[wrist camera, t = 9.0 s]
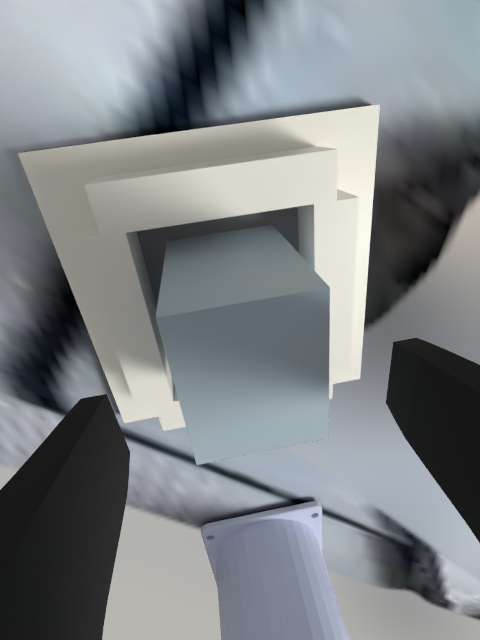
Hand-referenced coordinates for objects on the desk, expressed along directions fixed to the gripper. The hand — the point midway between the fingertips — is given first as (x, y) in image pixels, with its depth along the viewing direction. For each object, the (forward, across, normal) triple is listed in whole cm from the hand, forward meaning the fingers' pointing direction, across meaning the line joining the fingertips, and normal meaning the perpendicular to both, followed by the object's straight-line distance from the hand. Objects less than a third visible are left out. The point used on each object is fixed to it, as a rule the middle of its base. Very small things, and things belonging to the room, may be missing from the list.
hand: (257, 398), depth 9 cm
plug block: (+6, 0, 0) cm, 6 cm away
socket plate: (+7, 0, 0) cm, 7 cm away
